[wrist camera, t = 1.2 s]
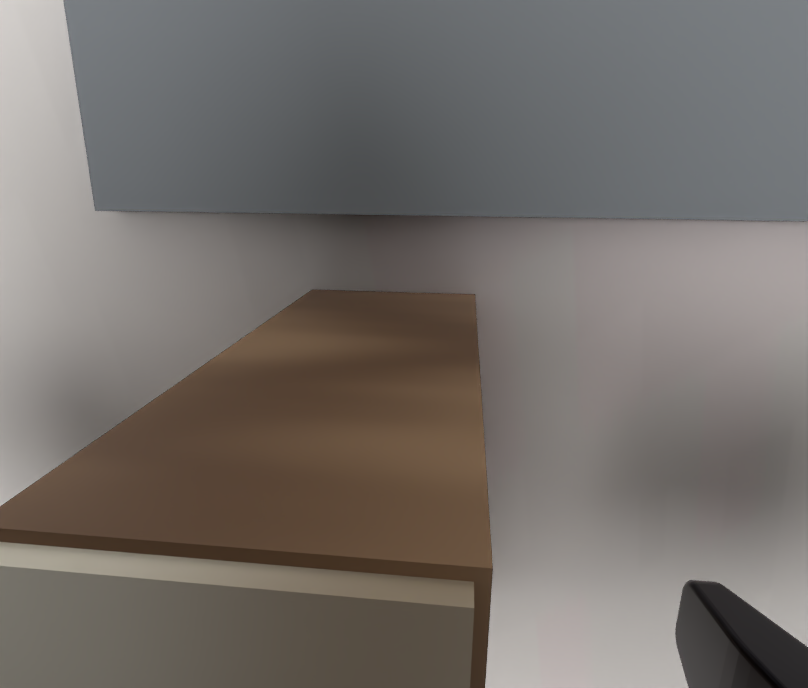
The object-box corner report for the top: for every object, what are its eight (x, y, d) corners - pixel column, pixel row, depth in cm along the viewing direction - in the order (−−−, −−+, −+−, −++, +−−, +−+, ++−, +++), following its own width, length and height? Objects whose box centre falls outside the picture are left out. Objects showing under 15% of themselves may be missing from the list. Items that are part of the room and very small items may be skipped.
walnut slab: (475, 294, 10) (495, 593, 3) (461, 595, 12) (451, 1241, 5) (312, 289, 11) (-56, 546, 3) (324, 583, 13) (114, 1172, 5)
